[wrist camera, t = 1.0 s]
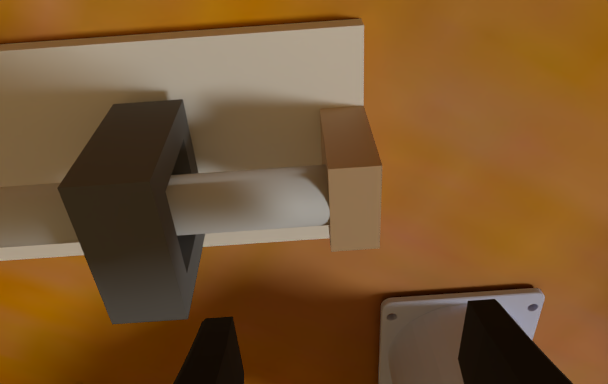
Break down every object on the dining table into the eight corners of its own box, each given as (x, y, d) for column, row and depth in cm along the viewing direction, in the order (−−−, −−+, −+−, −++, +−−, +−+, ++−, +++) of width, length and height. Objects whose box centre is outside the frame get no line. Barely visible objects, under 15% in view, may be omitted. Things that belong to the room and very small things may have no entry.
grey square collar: (182, 99, 17) (149, 181, 13) (208, 219, 20) (187, 319, 16) (113, 104, 17) (57, 188, 13) (148, 223, 20) (112, 324, 16)
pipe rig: (361, 18, 17) (385, 72, 13) (360, 224, 22) (377, 311, 18) (-272, 63, 17) (-449, 131, 13) (-131, 258, 23) (-226, 352, 18)
